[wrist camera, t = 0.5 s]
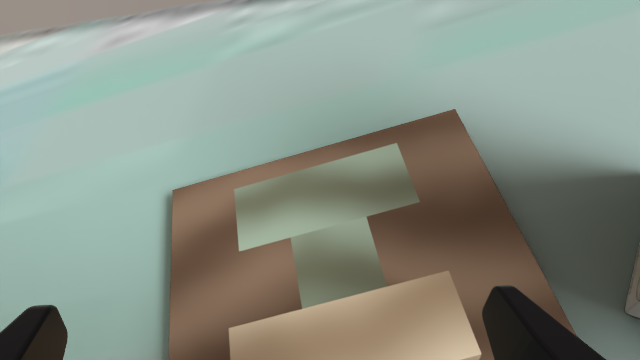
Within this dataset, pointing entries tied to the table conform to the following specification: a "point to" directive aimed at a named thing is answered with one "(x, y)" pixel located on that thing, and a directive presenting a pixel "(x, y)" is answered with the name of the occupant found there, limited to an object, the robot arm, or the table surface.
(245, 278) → the board
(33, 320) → the robot arm
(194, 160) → the table surface
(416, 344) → the t block
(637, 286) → the coffee box
